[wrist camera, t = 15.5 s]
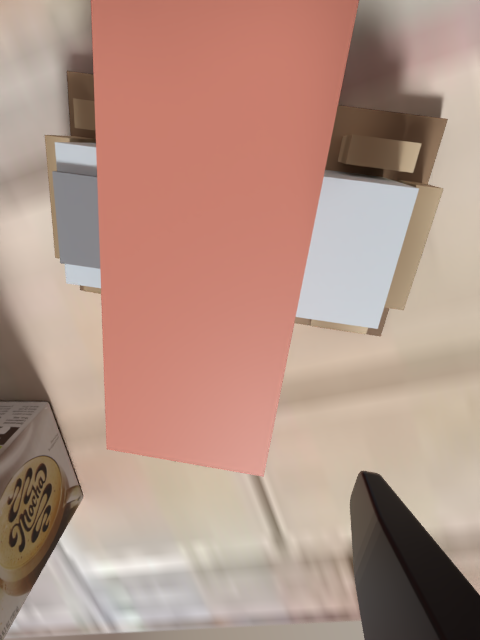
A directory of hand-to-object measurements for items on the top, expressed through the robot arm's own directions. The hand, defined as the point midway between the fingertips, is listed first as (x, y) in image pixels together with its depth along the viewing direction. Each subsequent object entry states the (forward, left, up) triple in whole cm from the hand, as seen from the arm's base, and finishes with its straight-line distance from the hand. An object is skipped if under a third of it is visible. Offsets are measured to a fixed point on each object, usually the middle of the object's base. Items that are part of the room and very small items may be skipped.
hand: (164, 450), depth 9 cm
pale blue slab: (0, -3, -12) cm, 12 cm away
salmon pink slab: (0, -3, -7) cm, 8 cm away
